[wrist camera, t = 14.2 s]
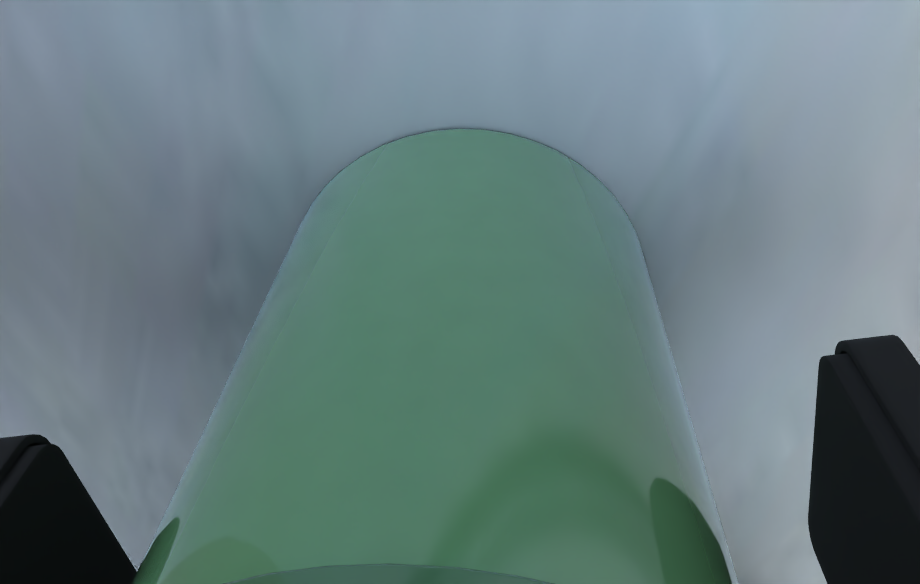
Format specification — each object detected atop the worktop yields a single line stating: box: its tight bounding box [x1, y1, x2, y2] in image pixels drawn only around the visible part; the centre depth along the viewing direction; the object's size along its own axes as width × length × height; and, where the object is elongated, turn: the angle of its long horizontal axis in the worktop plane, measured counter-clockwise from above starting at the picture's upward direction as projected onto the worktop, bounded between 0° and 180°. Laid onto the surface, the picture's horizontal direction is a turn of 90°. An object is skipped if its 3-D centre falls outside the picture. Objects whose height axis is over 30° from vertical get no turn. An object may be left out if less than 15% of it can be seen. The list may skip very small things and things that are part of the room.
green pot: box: [132, 129, 739, 584], centre depth 10 cm, size 6×6×8 cm
